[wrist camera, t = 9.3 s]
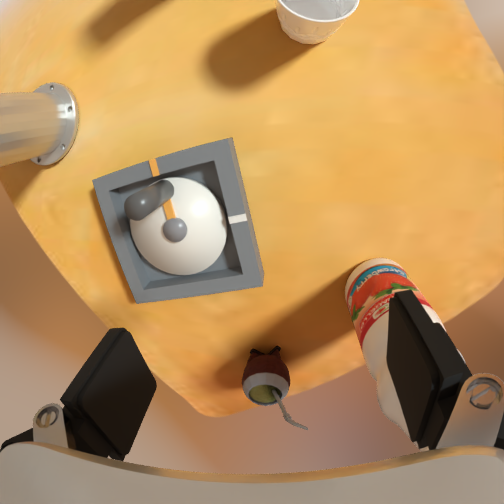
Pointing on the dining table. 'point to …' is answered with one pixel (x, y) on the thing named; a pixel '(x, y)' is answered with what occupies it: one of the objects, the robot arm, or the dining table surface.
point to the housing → (229, 194)
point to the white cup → (313, 18)
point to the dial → (177, 225)
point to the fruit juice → (380, 324)
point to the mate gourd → (267, 380)
